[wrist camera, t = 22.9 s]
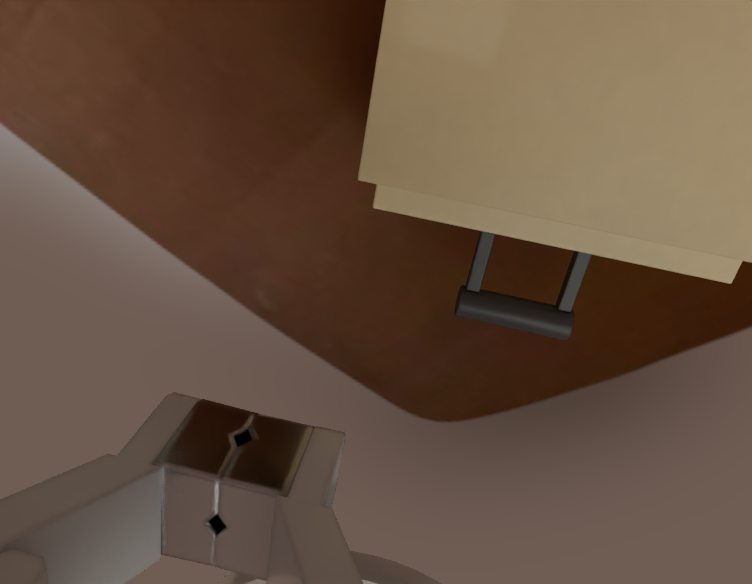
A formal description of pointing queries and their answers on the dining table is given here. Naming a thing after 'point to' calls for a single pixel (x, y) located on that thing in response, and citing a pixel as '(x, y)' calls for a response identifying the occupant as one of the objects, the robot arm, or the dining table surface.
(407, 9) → the cabinet
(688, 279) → the dining table surface
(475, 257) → the drawer
